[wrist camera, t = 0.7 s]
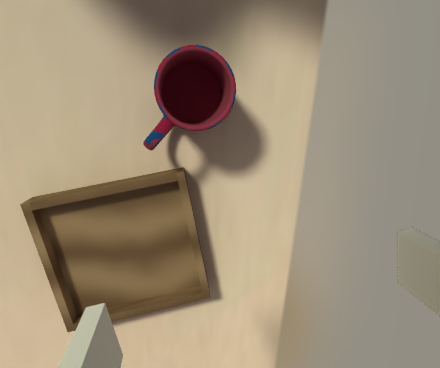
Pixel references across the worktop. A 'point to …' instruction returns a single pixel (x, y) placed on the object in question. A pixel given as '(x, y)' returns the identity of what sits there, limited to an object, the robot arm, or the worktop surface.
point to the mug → (192, 91)
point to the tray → (119, 246)
